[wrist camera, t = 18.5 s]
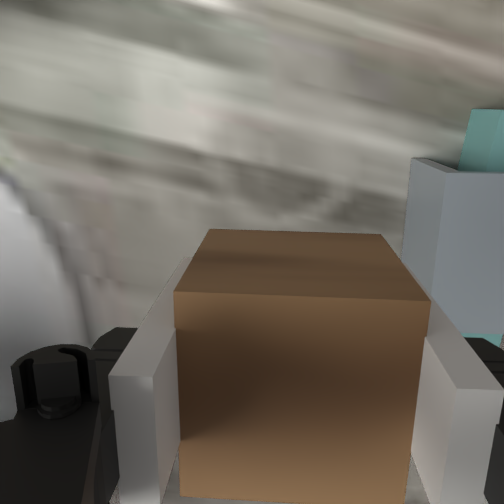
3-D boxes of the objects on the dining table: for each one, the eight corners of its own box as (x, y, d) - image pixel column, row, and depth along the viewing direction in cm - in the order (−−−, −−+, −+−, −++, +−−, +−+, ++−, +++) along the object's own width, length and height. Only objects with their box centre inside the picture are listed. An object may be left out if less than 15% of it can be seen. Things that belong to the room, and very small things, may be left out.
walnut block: (366, 384, 16) (403, 509, 11) (211, 377, 16) (179, 496, 11) (380, 234, 14) (431, 301, 9) (210, 229, 14) (173, 291, 10)
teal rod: (465, 343, 39) (490, 376, 35) (415, 337, 39) (434, 369, 35) (527, 115, 34) (567, 117, 29) (470, 108, 34) (501, 109, 29)
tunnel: (529, 290, 37) (590, 337, 30) (398, 287, 38) (426, 331, 31) (553, 160, 34) (628, 175, 27) (411, 158, 35) (446, 172, 28)
